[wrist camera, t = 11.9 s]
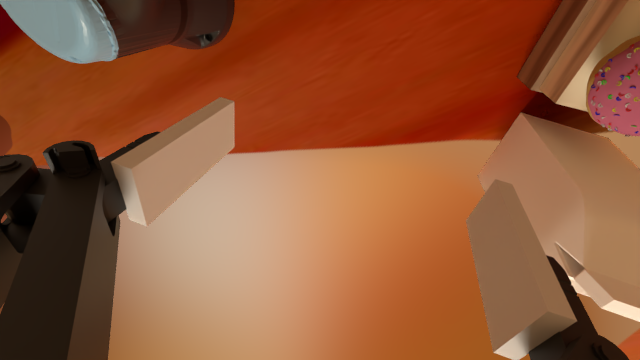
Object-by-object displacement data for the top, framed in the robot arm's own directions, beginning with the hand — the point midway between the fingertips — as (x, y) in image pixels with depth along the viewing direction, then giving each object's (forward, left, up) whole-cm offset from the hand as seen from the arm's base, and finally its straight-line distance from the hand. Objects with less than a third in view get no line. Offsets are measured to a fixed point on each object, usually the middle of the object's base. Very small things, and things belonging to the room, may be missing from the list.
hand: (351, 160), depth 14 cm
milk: (+26, -10, -33) cm, 43 cm away
